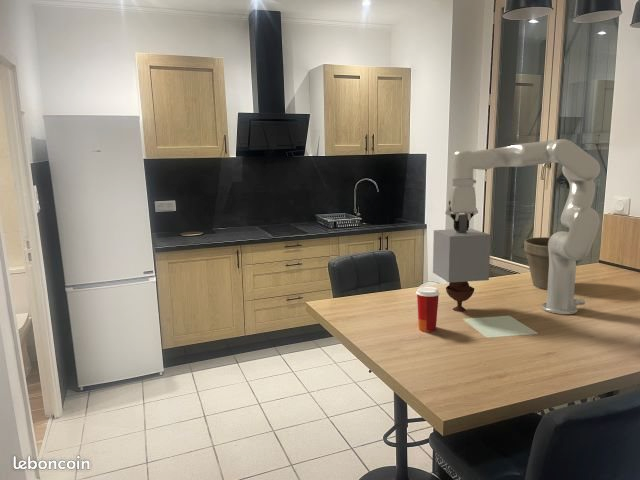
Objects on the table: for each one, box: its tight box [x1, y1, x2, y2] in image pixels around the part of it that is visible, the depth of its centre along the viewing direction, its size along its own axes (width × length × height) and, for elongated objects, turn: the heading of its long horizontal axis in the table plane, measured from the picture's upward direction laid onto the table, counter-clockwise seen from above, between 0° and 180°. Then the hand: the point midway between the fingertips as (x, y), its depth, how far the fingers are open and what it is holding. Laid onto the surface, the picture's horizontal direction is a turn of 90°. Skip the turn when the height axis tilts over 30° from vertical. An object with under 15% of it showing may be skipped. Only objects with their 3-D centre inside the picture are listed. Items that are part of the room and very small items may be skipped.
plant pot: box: [523, 236, 579, 291], centre depth 213 cm, size 25×25×22 cm
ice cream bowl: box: [445, 281, 475, 313], centre depth 183 cm, size 11×11×15 cm
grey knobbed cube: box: [432, 213, 492, 283], centre depth 180 cm, size 16×16×25 cm
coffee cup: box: [415, 286, 441, 333], centre depth 164 cm, size 8×8×15 cm
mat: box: [462, 315, 539, 339], centre depth 166 cm, size 19×19×1 cm
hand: (461, 229), depth 179 cm, fingers closed on grey knobbed cube, 3 cm apart
